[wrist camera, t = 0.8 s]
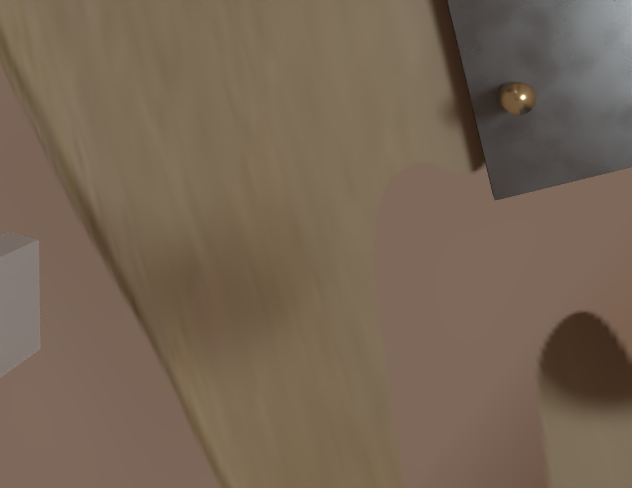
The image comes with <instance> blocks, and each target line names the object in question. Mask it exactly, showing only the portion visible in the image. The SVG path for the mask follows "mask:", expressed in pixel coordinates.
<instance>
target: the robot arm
mask: <svg viewBox="0 0 632 488" xmlns="http://www.w3.org/2000/svg"><path fill="white" fill-rule="evenodd" d="M40 348H41V342H40V270H39V239H36V238H32V237H28V236H24V235H20V234H16V233H12V232H9V231H7V232H5V233H3V234H0V377H2V376H3V375H4V374H6V373H7V372H9V371H10V370H11V369H13V368H14V367H15V366H17V365H18V364H19V363H21V362H22V361H24V360H25V359H27V358H28V357H29V356H31V355H32V354H34V353H35V352H36V351H38V350H39V349H40Z"/></svg>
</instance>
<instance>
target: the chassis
mask: <svg viewBox="0 0 632 488" xmlns="http://www.w3.org/2000/svg"><path fill="white" fill-rule="evenodd" d="M447 3H448V8H449V12H450V16H451V20H452V24H453V29H454V33H455V37H456V41H457V45H458V50H459V54H460V58H461V62H462V66H463V71H464V75H465V79H466V83H467V87H468V92H469V96H470V100H471V104H472V108H473V113H474V117H475V121H476V125H477V129H478V134H479V138H480V142H481V146H482V151H483V155H484V159H485V163H486V167H487V172H488V175H489V180H490V184H491V188H492V193H493V196H494V199H495V200H499V199H503V198H507V197H511V196H515V195H520V194H524V193H528V192H532V191H536V190H540V189H544V188H548V187H552V186H556V185H560V184H565V183H569V182H573V181H577V180H580V179H585V178H589V177H593V176H597V175H601V174H605V173H610V172H614V171H617V170H622V169H626V168H630V167H632V0H447Z"/></svg>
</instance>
